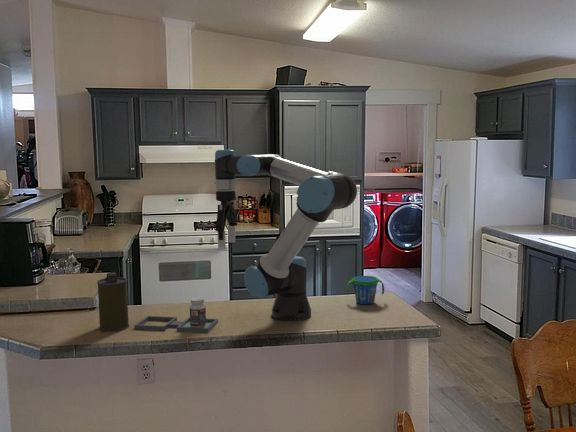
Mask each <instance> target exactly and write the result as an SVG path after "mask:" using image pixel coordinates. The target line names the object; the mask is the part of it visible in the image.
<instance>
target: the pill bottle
mask: <svg viewBox="0 0 576 432" xmlns="http://www.w3.org/2000/svg"><path fill="white" fill-rule="evenodd" d="M190 303H191V305H189V318H190V326H191V327H198V328H201V327H204V326H205V325H206V318H207V313H206V311H207V310H206V305H205V304H204V303H205V298H204V297H199V296H198V297H193V298H191V299H190Z"/></svg>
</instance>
